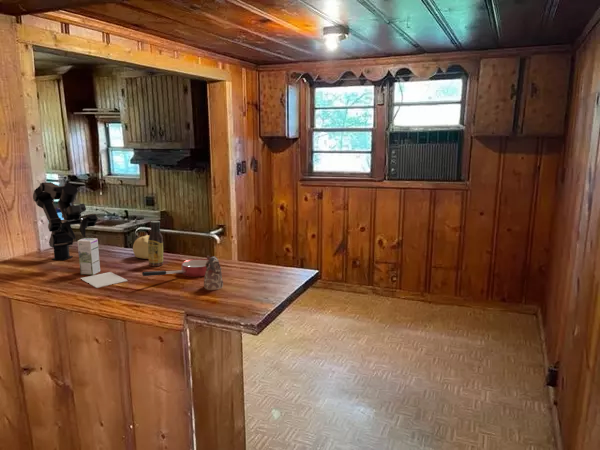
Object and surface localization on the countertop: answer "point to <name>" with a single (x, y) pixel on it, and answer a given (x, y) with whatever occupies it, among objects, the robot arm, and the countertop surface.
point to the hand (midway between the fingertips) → (79, 238)
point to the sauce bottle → (155, 245)
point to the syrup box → (88, 256)
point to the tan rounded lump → (141, 247)
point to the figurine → (213, 274)
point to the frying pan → (185, 269)
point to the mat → (103, 279)
